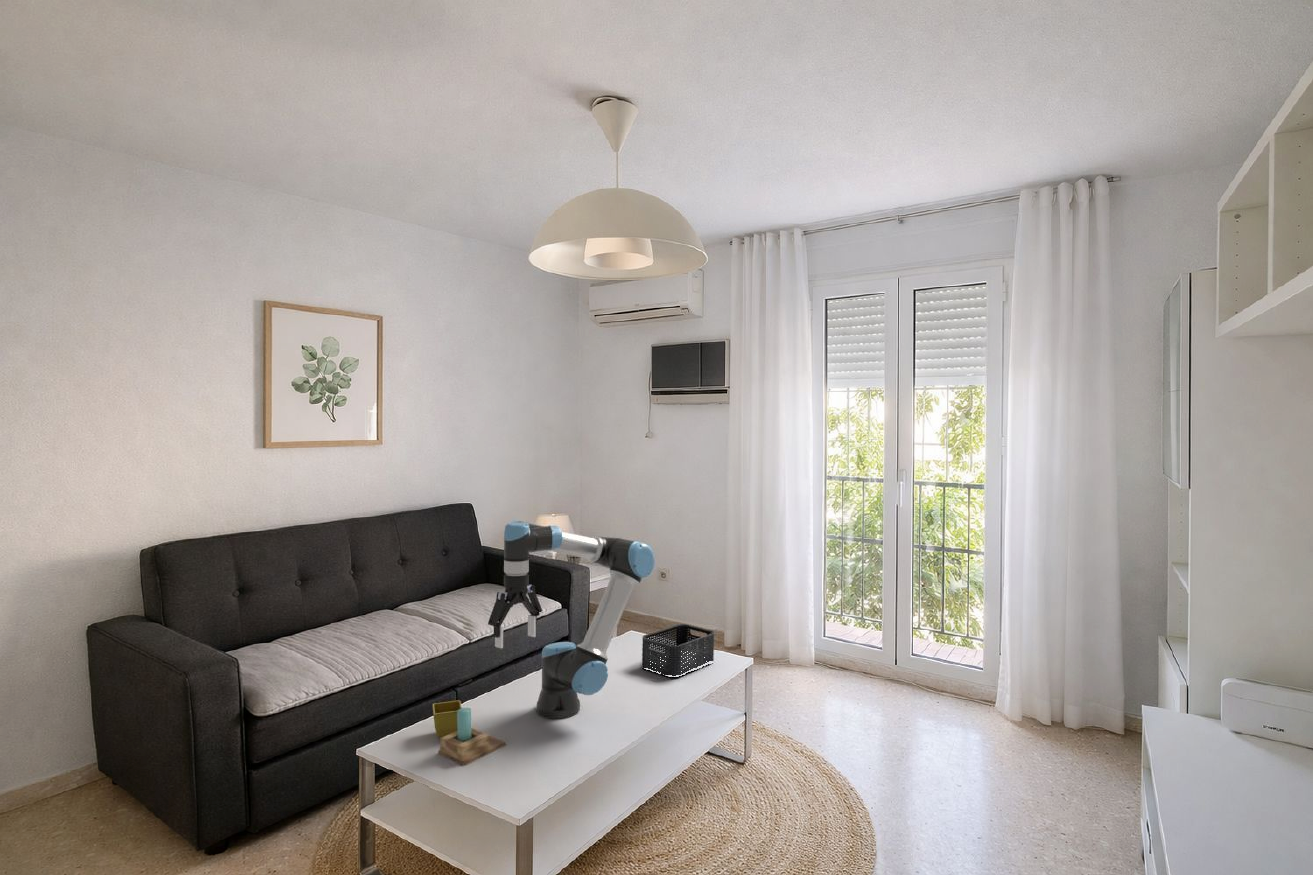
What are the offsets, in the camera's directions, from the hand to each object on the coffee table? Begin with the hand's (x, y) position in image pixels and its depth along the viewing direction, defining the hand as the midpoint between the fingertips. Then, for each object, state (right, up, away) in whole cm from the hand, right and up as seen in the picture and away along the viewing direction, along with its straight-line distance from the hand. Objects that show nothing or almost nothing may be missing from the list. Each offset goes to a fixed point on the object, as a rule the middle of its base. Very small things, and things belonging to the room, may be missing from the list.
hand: (515, 641), depth 212 cm
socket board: (-13, -33, -2) cm, 35 cm away
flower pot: (-24, -33, +8) cm, 41 cm away
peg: (-15, -32, -4) cm, 35 cm away
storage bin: (+53, -32, +74) cm, 97 cm away
